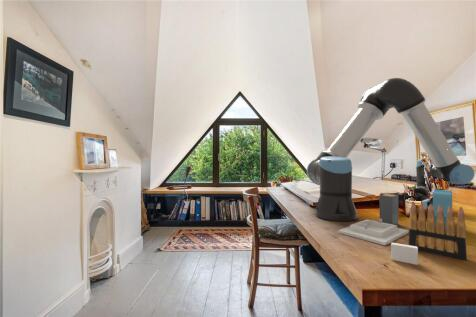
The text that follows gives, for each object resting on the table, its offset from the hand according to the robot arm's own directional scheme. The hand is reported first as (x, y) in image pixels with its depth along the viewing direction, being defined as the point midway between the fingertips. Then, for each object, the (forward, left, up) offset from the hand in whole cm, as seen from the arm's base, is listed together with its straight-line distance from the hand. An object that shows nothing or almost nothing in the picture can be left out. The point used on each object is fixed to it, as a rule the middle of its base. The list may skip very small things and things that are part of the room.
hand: (400, 202), depth 87 cm
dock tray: (+1, -24, -6) cm, 25 cm away
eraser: (+14, -39, -7) cm, 42 cm away
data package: (+12, -2, -7) cm, 14 cm away
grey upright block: (0, -10, -6) cm, 12 cm away
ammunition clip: (+17, -28, -7) cm, 33 cm away
